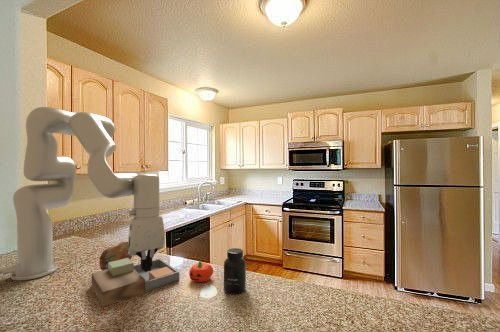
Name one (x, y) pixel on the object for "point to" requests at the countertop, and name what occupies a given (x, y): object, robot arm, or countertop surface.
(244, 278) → the supplement bottle
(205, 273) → the pumpkin
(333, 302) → the countertop surface
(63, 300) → the countertop surface
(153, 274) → the tile
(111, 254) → the tin
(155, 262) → the box
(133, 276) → the tan slab
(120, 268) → the tile
